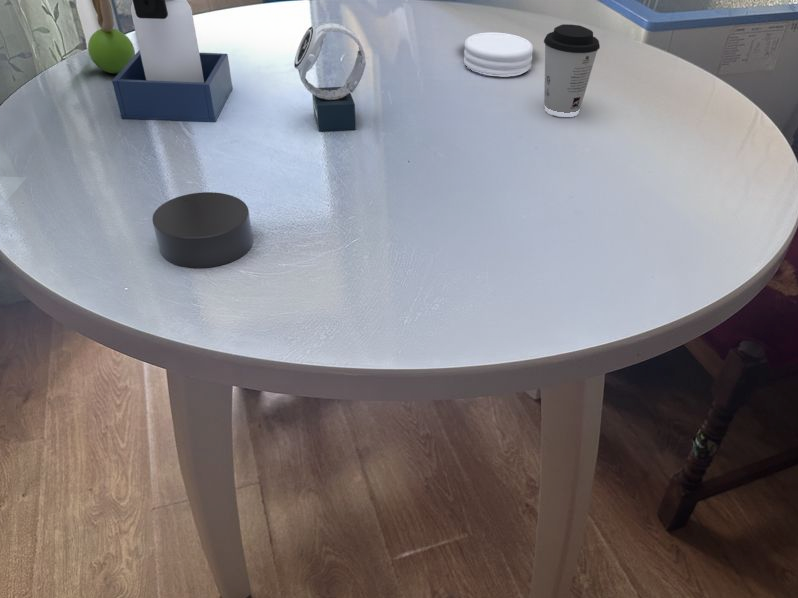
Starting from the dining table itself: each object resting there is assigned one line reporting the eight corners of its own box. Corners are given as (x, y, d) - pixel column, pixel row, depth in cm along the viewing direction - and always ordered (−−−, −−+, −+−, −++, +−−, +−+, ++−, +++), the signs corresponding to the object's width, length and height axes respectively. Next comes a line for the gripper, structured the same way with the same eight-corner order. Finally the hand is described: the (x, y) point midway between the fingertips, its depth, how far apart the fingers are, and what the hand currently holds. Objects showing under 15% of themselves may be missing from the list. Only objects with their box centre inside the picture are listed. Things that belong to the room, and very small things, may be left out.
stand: (148, 267, 61) (140, 237, 59) (172, 219, 67) (165, 190, 65) (244, 269, 61) (239, 239, 59) (259, 221, 67) (255, 193, 66)
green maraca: (103, 84, 90) (76, -19, 83) (89, 68, 94) (62, -32, 86) (147, 78, 93) (124, -23, 85) (132, 62, 97) (109, -36, 89)
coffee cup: (591, 123, 91) (606, 41, 84) (537, 120, 90) (548, 38, 84) (584, 102, 96) (597, 24, 90) (532, 99, 96) (542, 20, 89)
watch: (297, 114, 87) (288, 18, 80) (362, 110, 89) (359, 17, 82) (302, 132, 83) (293, 34, 76) (370, 129, 85) (368, 32, 78)
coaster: (510, 84, 100) (512, 58, 97) (450, 67, 103) (451, 42, 101) (542, 65, 106) (545, 41, 104) (485, 50, 110) (487, 26, 108)
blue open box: (121, 118, 83) (111, 80, 80) (147, 85, 91) (139, 49, 88) (215, 122, 84) (209, 84, 81) (232, 88, 92) (227, 53, 89)
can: (163, 113, 84) (139, 4, 76) (142, 95, 87) (118, -11, 80) (215, 103, 87) (198, -3, 79) (193, 86, 91) (175, -17, 83)
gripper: (112, -193, 76) (151, -17, 87) (50, -178, 63) (105, 27, 74) (184, -189, 76) (214, -15, 87) (138, -174, 63) (180, 29, 74)
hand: (164, 4), depth 80 cm, fingers open, 9 cm apart
